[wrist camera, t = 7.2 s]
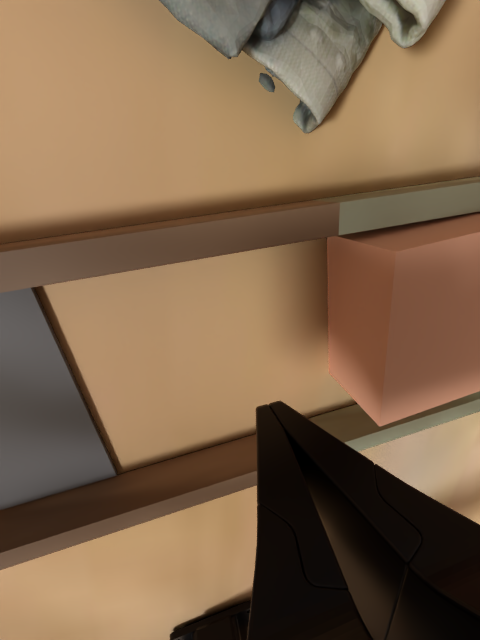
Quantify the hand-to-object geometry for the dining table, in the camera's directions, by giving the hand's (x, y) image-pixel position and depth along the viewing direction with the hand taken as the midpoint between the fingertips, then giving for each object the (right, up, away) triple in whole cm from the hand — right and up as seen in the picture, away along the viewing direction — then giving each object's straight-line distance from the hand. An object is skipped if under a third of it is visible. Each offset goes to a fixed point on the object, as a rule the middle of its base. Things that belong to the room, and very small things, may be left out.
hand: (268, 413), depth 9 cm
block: (+6, +4, +5) cm, 9 cm away
